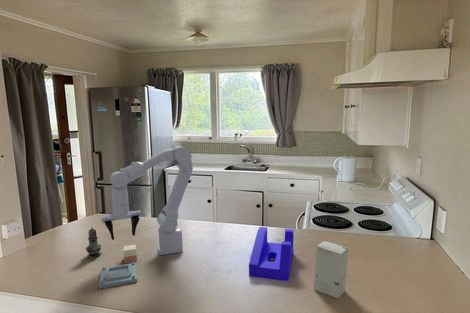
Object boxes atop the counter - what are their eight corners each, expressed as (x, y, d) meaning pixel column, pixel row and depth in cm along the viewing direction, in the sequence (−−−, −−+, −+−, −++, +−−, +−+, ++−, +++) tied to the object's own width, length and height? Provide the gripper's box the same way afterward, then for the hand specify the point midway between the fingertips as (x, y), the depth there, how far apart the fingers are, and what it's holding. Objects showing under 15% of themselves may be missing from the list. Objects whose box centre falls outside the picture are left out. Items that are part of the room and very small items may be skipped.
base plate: (136, 265, 115) (136, 260, 115) (137, 281, 104) (136, 276, 104) (101, 271, 111) (101, 266, 111) (98, 288, 100) (98, 283, 100)
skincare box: (313, 290, 98) (314, 245, 95) (321, 282, 102) (322, 239, 100) (339, 300, 92) (341, 253, 90) (346, 291, 97) (348, 246, 95)
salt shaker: (96, 259, 121) (93, 230, 119) (83, 258, 122) (80, 229, 120) (105, 252, 126) (103, 224, 125) (92, 251, 128) (90, 224, 126)
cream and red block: (136, 256, 123) (135, 244, 122) (136, 261, 119) (136, 249, 118) (124, 258, 122) (123, 246, 121) (124, 263, 117) (123, 250, 117)
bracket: (259, 251, 126) (259, 226, 125) (293, 254, 123) (293, 229, 122) (248, 277, 106) (248, 248, 105) (288, 282, 103) (288, 252, 101)
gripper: (137, 197, 124) (140, 229, 126) (98, 203, 117) (101, 237, 119) (141, 201, 118) (144, 235, 120) (100, 208, 111) (104, 243, 113)
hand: (123, 236), depth 119 cm, fingers open, 7 cm apart
